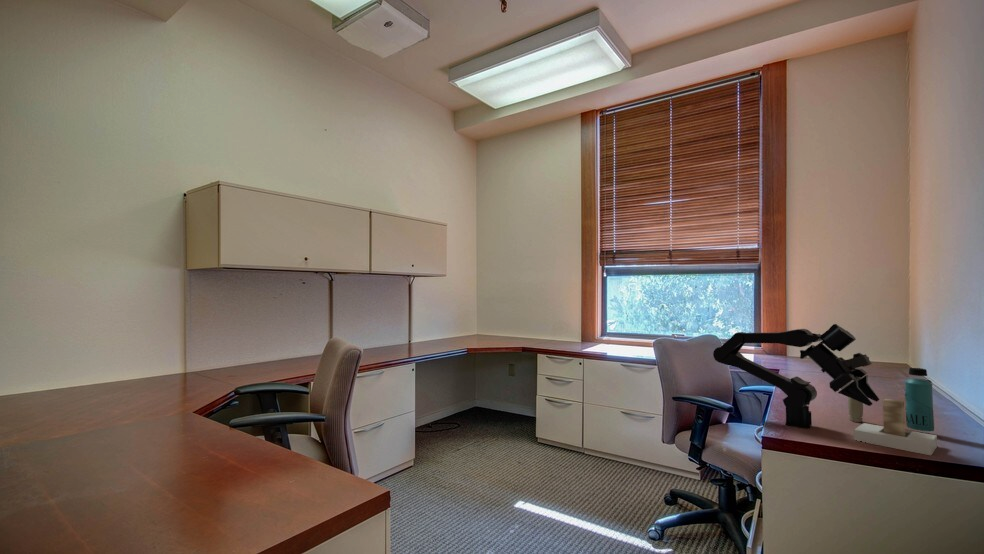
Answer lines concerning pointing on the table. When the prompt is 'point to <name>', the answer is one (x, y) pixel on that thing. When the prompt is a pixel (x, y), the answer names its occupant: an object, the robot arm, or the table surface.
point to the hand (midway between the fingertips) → (874, 402)
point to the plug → (894, 417)
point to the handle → (855, 410)
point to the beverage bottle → (919, 401)
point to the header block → (896, 439)
